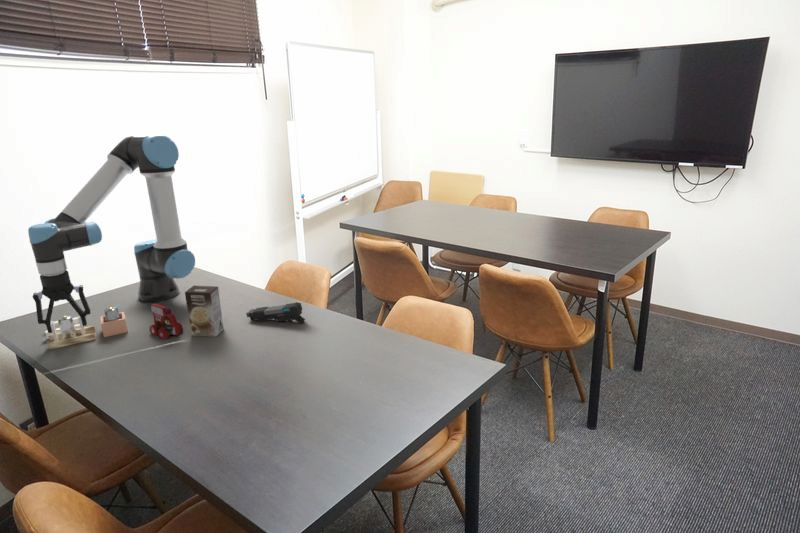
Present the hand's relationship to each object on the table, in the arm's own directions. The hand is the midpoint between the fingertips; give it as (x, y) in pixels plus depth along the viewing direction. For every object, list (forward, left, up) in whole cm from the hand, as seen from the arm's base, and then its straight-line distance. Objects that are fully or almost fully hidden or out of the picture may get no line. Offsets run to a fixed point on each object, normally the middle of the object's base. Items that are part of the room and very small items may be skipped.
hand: (70, 337), depth 161 cm
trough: (-1, 0, -2) cm, 2 cm away
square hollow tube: (-13, 0, -2) cm, 13 cm away
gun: (-63, +22, -2) cm, 67 cm away
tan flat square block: (+2, -10, -1) cm, 10 cm away
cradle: (+2, -10, -2) cm, 10 cm away
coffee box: (-40, +18, -2) cm, 44 cm away
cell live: (0, 0, -1) cm, 1 cm away
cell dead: (-13, 0, -1) cm, 13 cm away
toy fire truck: (-28, +12, -2) cm, 31 cm away
